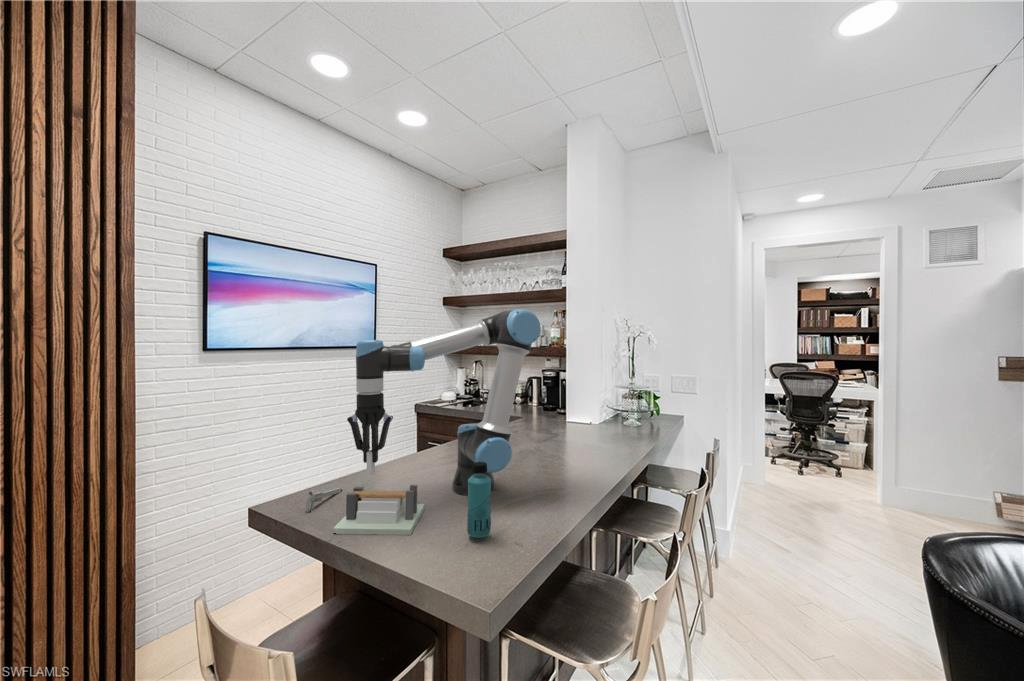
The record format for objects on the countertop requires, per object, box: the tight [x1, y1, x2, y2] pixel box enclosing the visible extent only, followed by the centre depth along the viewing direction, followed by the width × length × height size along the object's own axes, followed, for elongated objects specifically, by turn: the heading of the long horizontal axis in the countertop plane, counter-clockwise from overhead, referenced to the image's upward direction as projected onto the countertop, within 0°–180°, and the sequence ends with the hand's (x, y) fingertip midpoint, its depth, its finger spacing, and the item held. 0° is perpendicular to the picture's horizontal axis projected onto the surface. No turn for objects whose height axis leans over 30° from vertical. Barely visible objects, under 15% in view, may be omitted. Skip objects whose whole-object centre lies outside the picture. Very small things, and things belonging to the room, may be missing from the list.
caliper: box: [305, 487, 344, 513], centre depth 138 cm, size 20×1×6 cm, turn 173°
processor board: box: [332, 484, 426, 536], centre depth 124 cm, size 21×18×10 cm
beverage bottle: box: [466, 462, 492, 538], centre depth 113 cm, size 6×7×20 cm
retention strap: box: [352, 490, 415, 503], centre depth 124 cm, size 18×3×4 cm, turn 90°
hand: (370, 473), depth 124 cm, fingers closed
